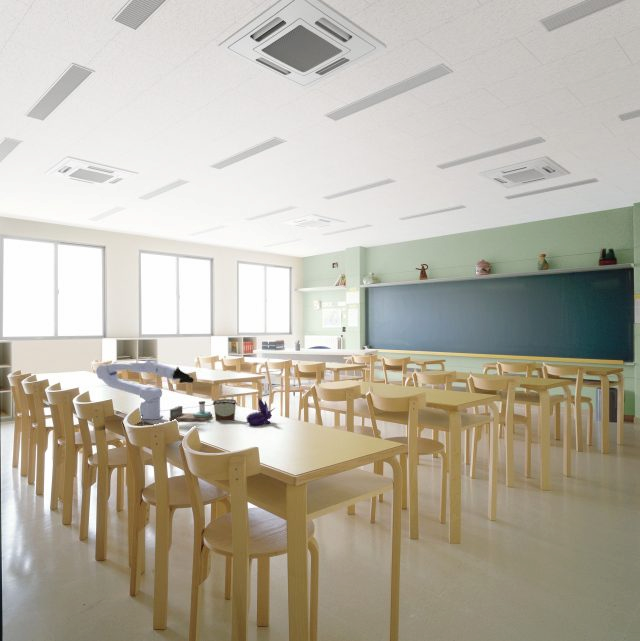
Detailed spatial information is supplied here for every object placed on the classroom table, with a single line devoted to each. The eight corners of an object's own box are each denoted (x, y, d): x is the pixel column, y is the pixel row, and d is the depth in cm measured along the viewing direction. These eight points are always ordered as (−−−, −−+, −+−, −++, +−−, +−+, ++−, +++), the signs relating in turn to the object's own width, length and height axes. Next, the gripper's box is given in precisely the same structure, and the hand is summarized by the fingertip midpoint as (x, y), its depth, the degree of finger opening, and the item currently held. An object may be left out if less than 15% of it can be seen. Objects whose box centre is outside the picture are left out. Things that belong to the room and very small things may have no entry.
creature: (281, 422, 238) (281, 397, 238) (248, 428, 227) (248, 401, 227) (271, 419, 245) (271, 395, 245) (239, 425, 234) (239, 399, 234)
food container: (240, 418, 250) (239, 398, 250) (236, 420, 244) (236, 400, 243) (216, 418, 251) (216, 398, 251) (212, 420, 245) (212, 400, 245)
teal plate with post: (193, 416, 246) (193, 403, 246) (199, 413, 254) (199, 400, 253) (204, 417, 245) (204, 403, 245) (210, 413, 253) (210, 400, 253)
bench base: (169, 421, 245) (169, 409, 245) (179, 416, 257) (179, 405, 257) (203, 421, 243) (203, 410, 243) (212, 416, 255) (212, 406, 255)
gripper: (165, 361, 246) (189, 368, 244) (174, 368, 260) (197, 375, 258) (159, 374, 244) (184, 381, 242) (169, 380, 258) (192, 387, 256)
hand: (190, 379), depth 250 cm, fingers open, 7 cm apart
